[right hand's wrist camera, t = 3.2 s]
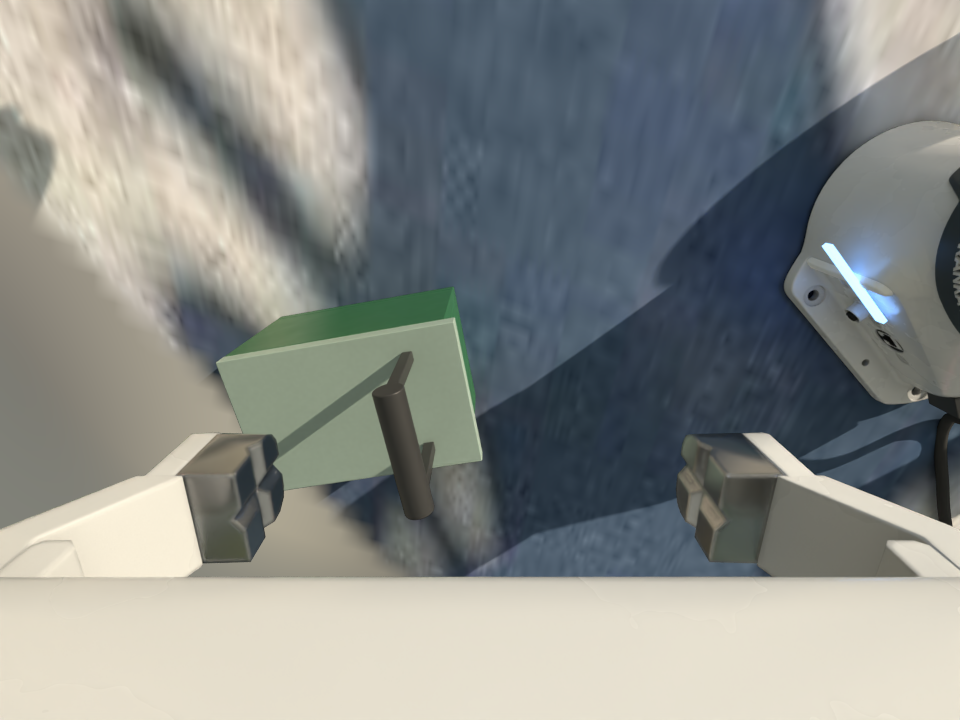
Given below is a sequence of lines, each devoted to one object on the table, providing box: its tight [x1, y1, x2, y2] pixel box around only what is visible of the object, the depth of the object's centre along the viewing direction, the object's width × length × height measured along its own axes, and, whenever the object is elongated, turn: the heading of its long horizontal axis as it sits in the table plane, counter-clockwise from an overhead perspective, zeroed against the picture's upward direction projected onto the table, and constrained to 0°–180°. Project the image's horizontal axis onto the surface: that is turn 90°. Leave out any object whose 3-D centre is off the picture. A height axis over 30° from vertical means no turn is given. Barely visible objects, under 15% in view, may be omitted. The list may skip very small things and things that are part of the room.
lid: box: [216, 318, 482, 520], centre depth 30 cm, size 15×10×8 cm, turn 100°
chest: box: [225, 287, 475, 414], centre depth 39 cm, size 15×10×10 cm
